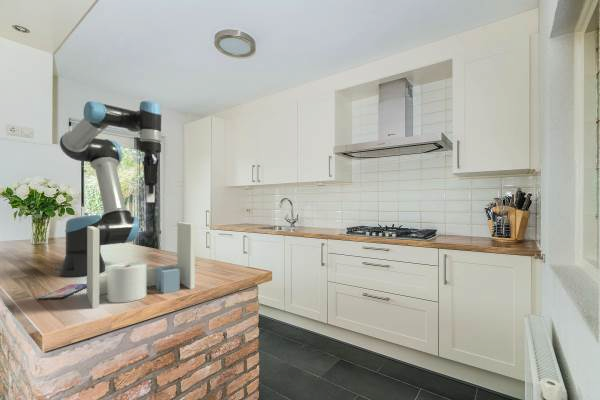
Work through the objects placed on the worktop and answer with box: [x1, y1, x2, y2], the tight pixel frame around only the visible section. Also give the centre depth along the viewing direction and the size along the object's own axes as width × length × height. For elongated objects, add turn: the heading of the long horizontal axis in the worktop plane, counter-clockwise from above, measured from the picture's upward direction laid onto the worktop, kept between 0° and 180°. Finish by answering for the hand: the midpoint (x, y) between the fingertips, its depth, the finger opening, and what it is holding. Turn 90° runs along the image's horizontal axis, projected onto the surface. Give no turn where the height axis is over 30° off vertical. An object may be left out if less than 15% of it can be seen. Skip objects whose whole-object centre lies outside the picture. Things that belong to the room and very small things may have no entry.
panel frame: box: [86, 221, 196, 309], centre depth 98 cm, size 14×29×22 cm, turn 131°
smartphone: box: [37, 283, 87, 301], centre depth 98 cm, size 8×1×15 cm
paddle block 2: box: [160, 268, 181, 295], centre depth 99 cm, size 3×5×7 cm, turn 131°
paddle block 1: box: [155, 265, 174, 291], centre depth 103 cm, size 3×5×7 cm, turn 131°
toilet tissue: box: [106, 259, 148, 304], centre depth 93 cm, size 11×12×10 cm
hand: (150, 202), depth 117 cm, fingers closed
